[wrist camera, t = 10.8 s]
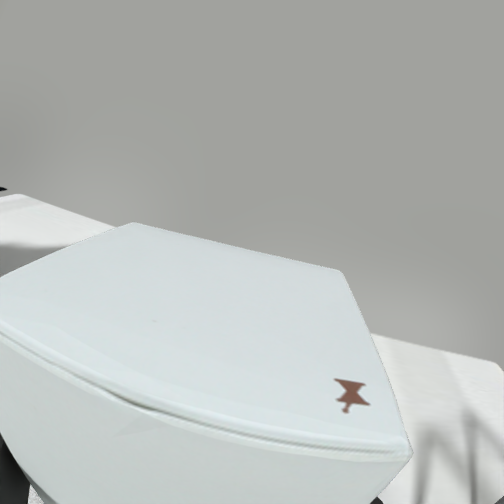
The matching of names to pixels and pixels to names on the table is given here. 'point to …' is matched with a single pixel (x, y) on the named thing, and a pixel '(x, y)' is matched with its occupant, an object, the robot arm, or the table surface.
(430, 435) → the table surface
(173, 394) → the supplement box
